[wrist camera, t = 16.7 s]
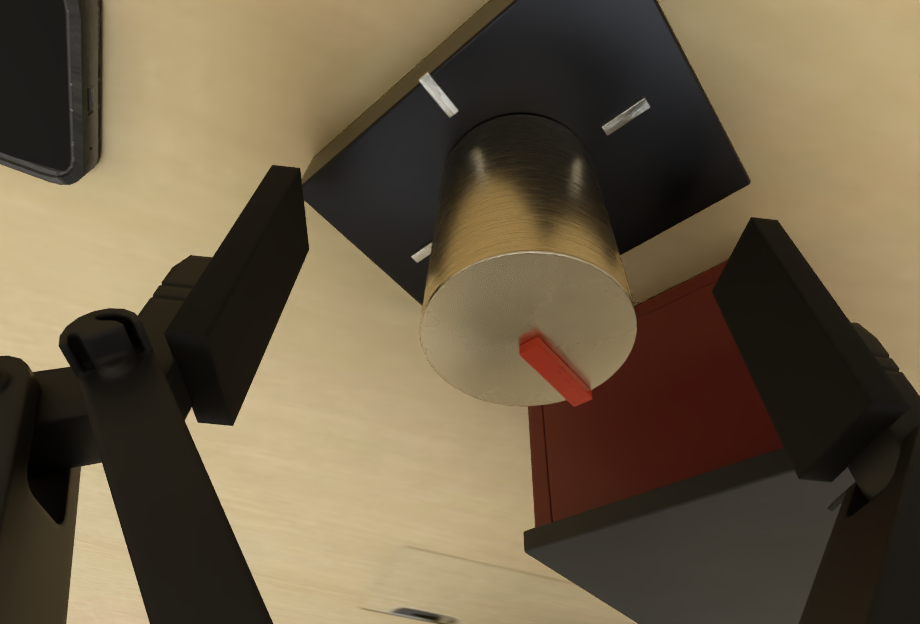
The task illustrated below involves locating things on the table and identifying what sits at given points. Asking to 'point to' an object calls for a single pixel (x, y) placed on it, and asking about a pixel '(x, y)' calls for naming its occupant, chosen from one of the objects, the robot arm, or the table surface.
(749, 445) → the reddish brown box
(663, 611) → the lid
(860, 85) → the table surface
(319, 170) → the console
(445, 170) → the dial
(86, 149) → the phone
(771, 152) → the table surface
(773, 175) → the table surface
